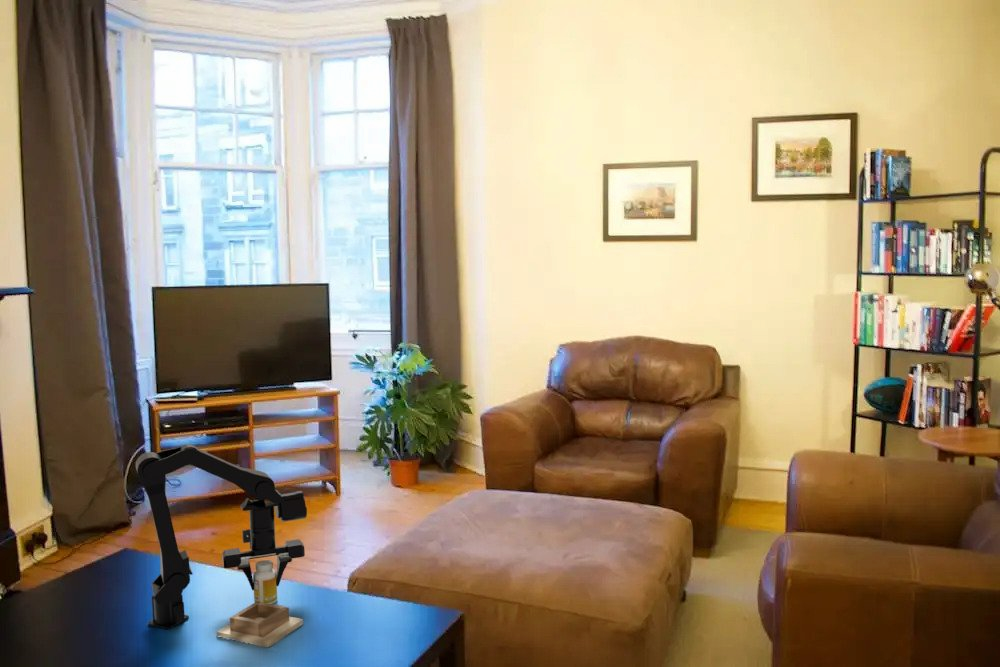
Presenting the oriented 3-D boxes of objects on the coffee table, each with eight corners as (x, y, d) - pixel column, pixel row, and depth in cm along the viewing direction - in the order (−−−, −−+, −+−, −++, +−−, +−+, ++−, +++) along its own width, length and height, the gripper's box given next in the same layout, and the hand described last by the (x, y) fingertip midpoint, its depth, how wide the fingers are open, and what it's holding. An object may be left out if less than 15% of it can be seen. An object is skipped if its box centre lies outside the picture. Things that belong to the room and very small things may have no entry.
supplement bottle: (280, 597, 198) (279, 559, 197) (272, 606, 192) (270, 567, 192) (259, 596, 198) (257, 558, 197) (250, 606, 193) (248, 566, 192)
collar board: (216, 637, 177) (215, 618, 177) (253, 614, 188) (252, 597, 188) (268, 647, 172) (267, 628, 171) (302, 624, 183) (301, 606, 182)
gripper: (297, 510, 205) (299, 570, 206) (219, 520, 198) (222, 582, 199) (303, 523, 194) (306, 585, 196) (222, 534, 187) (225, 599, 189)
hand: (265, 587), depth 195 cm, fingers closed on supplement bottle, 5 cm apart
